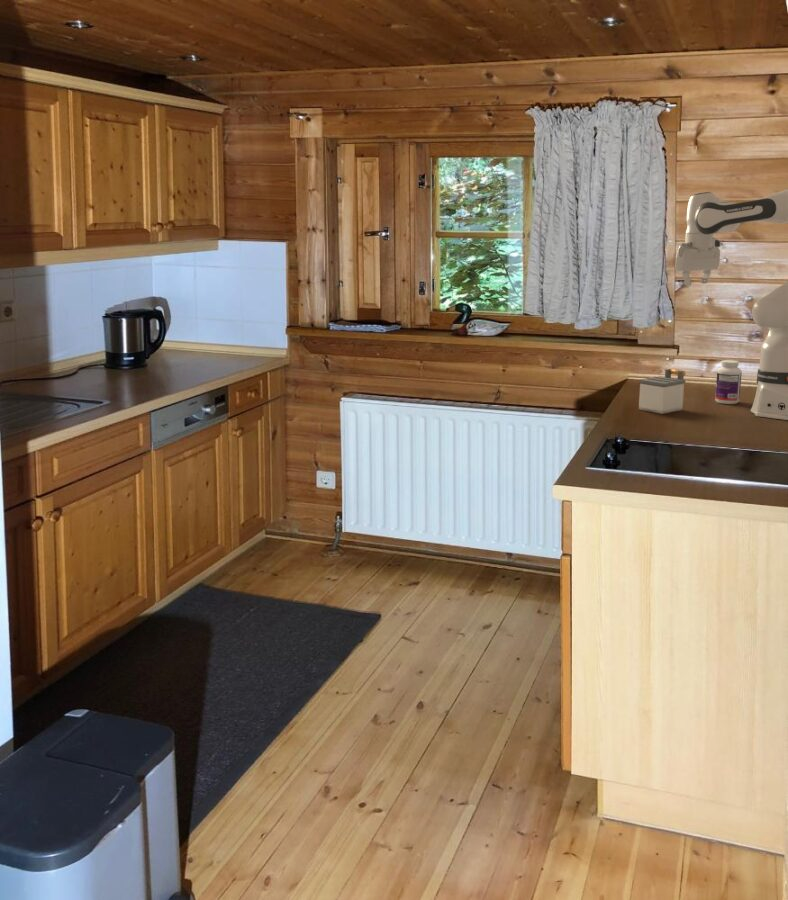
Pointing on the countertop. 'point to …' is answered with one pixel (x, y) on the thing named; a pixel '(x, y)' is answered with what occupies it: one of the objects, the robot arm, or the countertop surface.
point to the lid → (666, 379)
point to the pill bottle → (728, 383)
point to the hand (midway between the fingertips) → (696, 284)
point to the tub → (661, 398)
